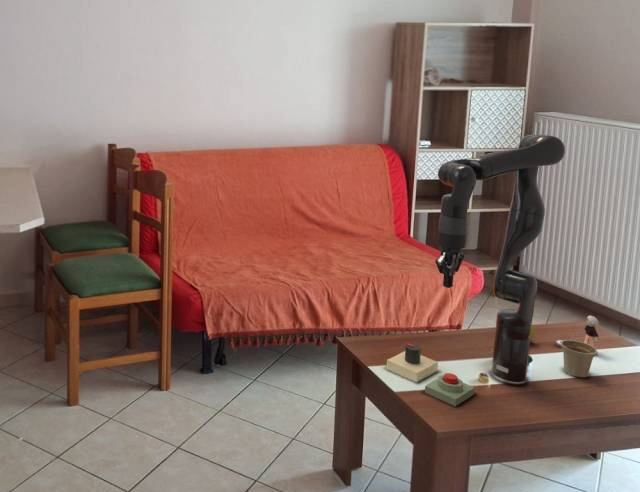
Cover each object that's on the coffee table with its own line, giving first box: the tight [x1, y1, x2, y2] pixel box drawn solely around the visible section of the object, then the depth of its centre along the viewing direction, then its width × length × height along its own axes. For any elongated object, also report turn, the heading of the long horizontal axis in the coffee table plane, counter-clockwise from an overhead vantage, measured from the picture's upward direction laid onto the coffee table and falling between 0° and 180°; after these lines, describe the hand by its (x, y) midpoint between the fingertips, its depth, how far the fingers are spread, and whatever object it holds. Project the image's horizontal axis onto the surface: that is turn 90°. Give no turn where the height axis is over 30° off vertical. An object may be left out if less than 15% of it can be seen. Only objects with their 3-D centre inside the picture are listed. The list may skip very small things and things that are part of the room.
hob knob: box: [404, 342, 422, 364], centre depth 211 cm, size 4×4×5 cm
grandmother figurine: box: [583, 315, 600, 348], centre depth 226 cm, size 8×4×13 cm, turn 5°
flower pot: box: [560, 339, 598, 378], centre depth 212 cm, size 9×9×9 cm
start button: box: [443, 372, 458, 384], centre depth 198 cm, size 4×4×2 cm
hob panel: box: [385, 350, 439, 383], centre depth 212 cm, size 12×10×3 cm
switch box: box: [424, 374, 476, 407], centre depth 198 cm, size 11×9×4 cm
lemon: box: [530, 324, 535, 342], centre depth 232 cm, size 6×6×8 cm
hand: (447, 286), depth 203 cm, fingers closed
